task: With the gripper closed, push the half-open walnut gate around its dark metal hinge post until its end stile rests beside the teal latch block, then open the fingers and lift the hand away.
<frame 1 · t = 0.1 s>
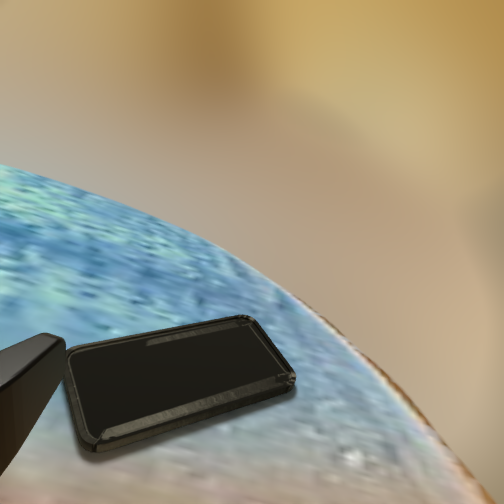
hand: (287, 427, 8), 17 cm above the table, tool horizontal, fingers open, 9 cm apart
phone: (182, 378, 30), on the table
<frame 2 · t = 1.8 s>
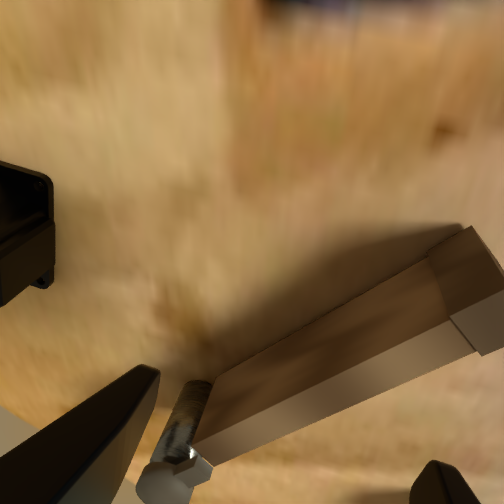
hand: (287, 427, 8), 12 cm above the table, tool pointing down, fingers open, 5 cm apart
gate: (301, 383, 19), point 3 cm above the table, hinge at 55.0°
hinge post: (201, 396, 25), on the table
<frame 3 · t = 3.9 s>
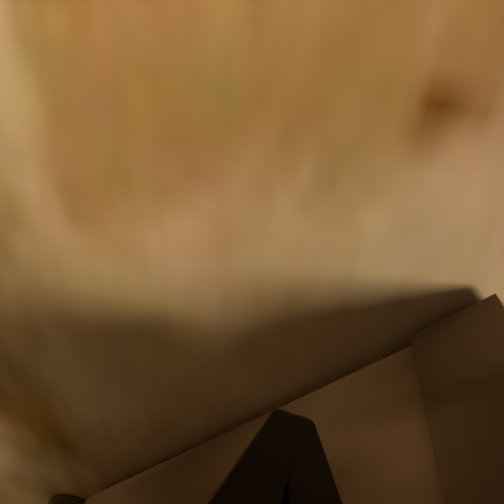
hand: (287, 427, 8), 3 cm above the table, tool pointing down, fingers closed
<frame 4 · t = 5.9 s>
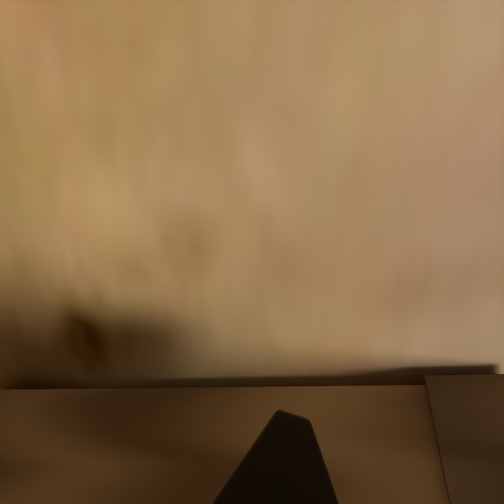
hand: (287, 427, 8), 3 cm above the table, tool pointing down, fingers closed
gate: (112, 502, 10), point 3 cm above the table, hinge at 26.1°, touching gripper
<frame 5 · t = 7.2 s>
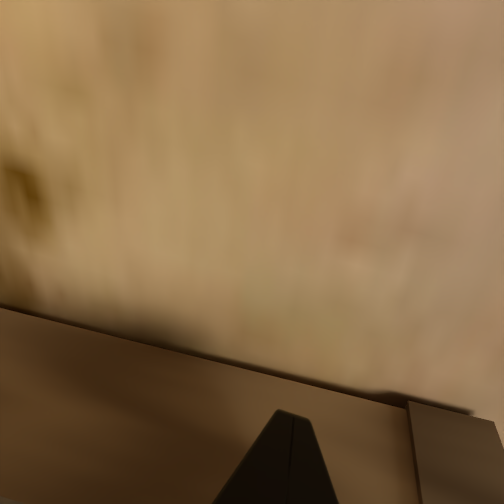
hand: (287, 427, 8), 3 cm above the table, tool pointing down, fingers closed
gate: (69, 450, 9), point 3 cm above the table, hinge at 6.7°, touching gripper
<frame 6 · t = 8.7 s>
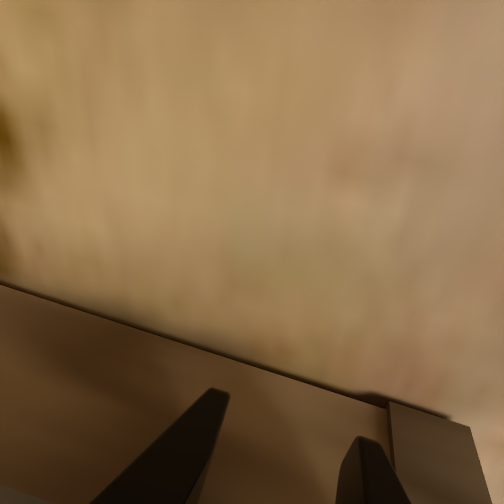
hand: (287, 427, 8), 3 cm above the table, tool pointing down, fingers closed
gate: (46, 429, 9), point 3 cm above the table, hinge at 0.6°, touching gripper
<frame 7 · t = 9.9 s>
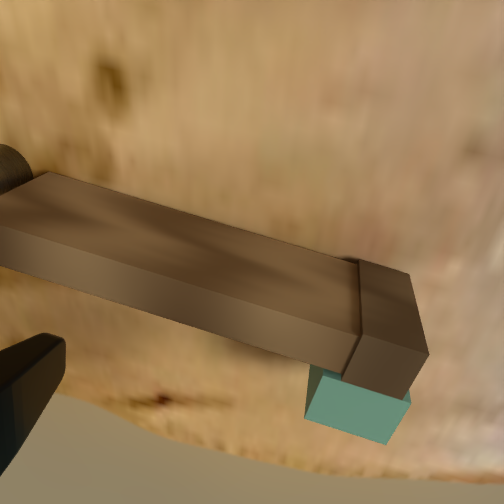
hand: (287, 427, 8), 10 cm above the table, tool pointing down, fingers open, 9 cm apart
gate: (151, 262, 15), point 3 cm above the table, hinge at -0.1°
hinge post: (7, 172, 18), on the table
latch block: (353, 328, 19), on the table
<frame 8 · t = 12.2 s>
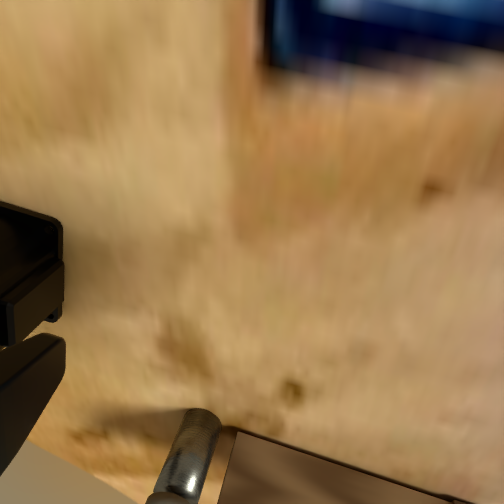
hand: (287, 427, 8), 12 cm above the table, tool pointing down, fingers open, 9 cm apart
hinge post: (202, 422, 26), on the table
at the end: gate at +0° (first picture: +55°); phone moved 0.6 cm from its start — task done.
